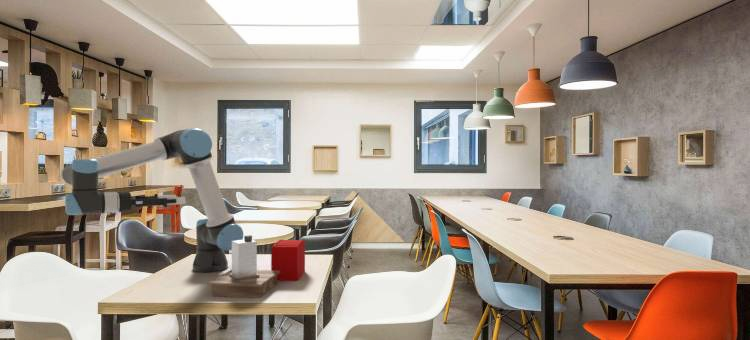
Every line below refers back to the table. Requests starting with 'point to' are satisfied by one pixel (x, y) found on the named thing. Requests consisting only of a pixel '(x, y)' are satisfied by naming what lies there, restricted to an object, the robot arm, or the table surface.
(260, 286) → the walnut stand
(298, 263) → the fire alarm
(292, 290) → the table surface
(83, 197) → the robot arm
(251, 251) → the aluminium housing
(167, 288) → the table surface
